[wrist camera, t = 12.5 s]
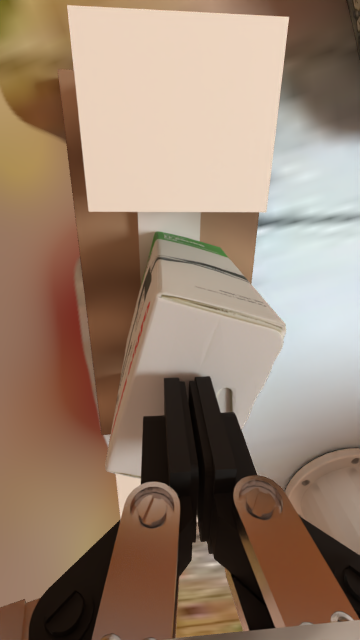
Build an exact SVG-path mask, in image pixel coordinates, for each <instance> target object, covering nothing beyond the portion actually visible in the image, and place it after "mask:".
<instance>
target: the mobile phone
mask: <svg viewBox="0 0 360 640" xmlns="http://www.w3.org/2000/svg"><path fill="white" fill-rule="evenodd" d="M346 1H347V4H348V7H349V11H350V15H351V21H352V24H353V28H354V33H355V38H356V43H357V48H358V53H359V58H360V0H346Z"/></svg>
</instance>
